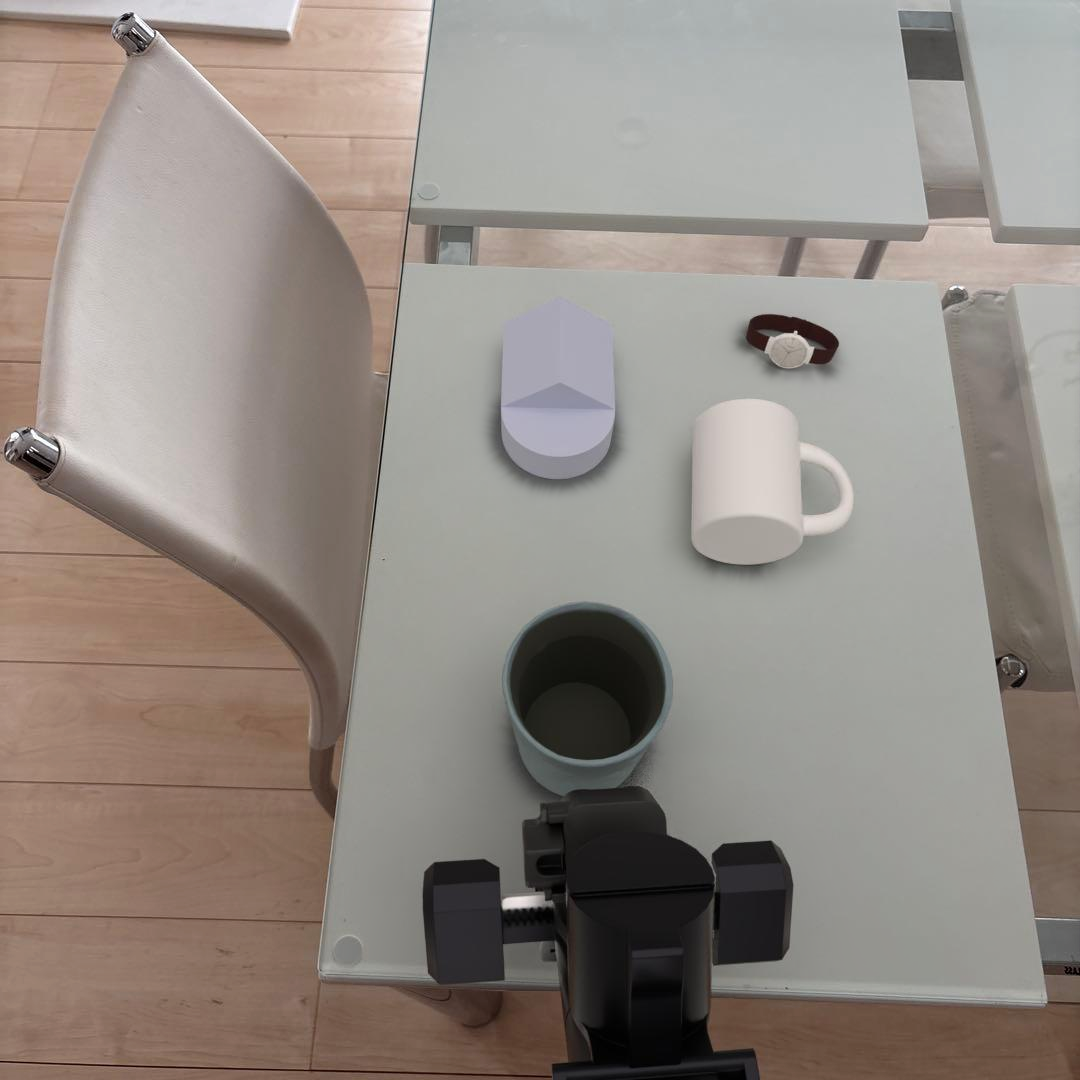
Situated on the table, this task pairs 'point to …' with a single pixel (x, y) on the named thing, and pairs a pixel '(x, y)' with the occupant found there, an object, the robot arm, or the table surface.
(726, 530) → the mug
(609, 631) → the teal cup
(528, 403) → the wedge on round base
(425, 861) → the table surface
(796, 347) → the watch
